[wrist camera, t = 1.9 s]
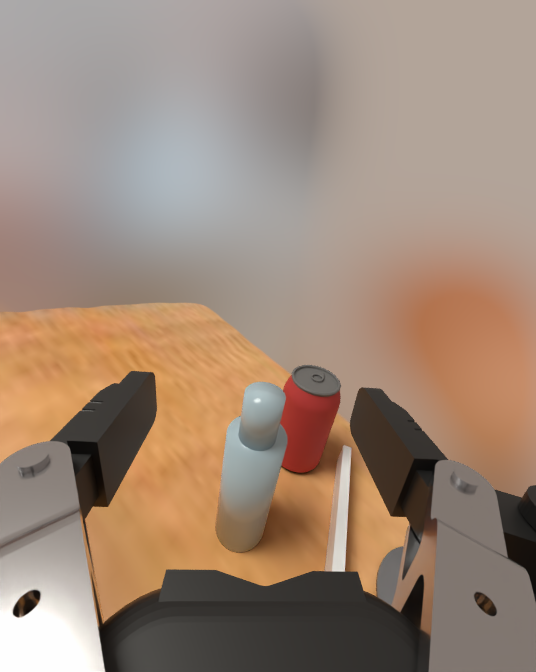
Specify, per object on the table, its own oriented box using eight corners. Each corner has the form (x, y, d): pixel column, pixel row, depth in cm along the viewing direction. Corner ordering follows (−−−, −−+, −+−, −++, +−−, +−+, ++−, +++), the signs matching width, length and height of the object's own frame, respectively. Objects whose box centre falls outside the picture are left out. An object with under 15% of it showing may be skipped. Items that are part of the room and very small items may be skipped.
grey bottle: (253, 562, 23) (288, 429, 16) (205, 537, 24) (219, 403, 17) (270, 510, 27) (304, 387, 20) (229, 491, 28) (247, 368, 21)
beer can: (326, 449, 35) (352, 378, 30) (306, 486, 30) (334, 406, 25) (284, 426, 38) (302, 356, 33) (260, 455, 33) (276, 378, 28)
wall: (320, 775, 15) (334, 765, 13) (302, 763, 15) (315, 752, 14) (344, 463, 34) (351, 447, 33) (337, 460, 34) (343, 444, 33)
